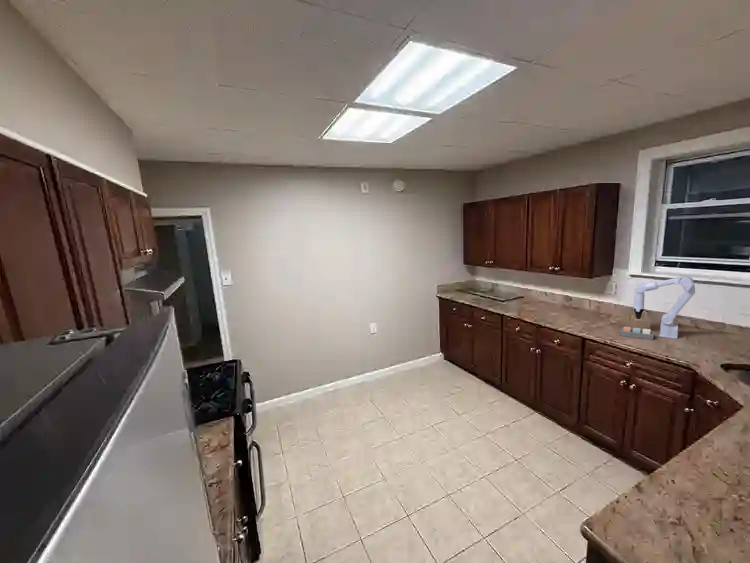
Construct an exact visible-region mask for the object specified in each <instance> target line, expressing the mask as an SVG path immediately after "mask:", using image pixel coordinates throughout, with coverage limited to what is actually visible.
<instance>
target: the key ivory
mask: <svg viewBox="0 0 750 563" xmlns="http://www.w3.org/2000/svg"><path fill="white" fill-rule="evenodd" d="M642 331H643V332H642V333H643V334H651V332H652V329H649V328H642Z"/></svg>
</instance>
